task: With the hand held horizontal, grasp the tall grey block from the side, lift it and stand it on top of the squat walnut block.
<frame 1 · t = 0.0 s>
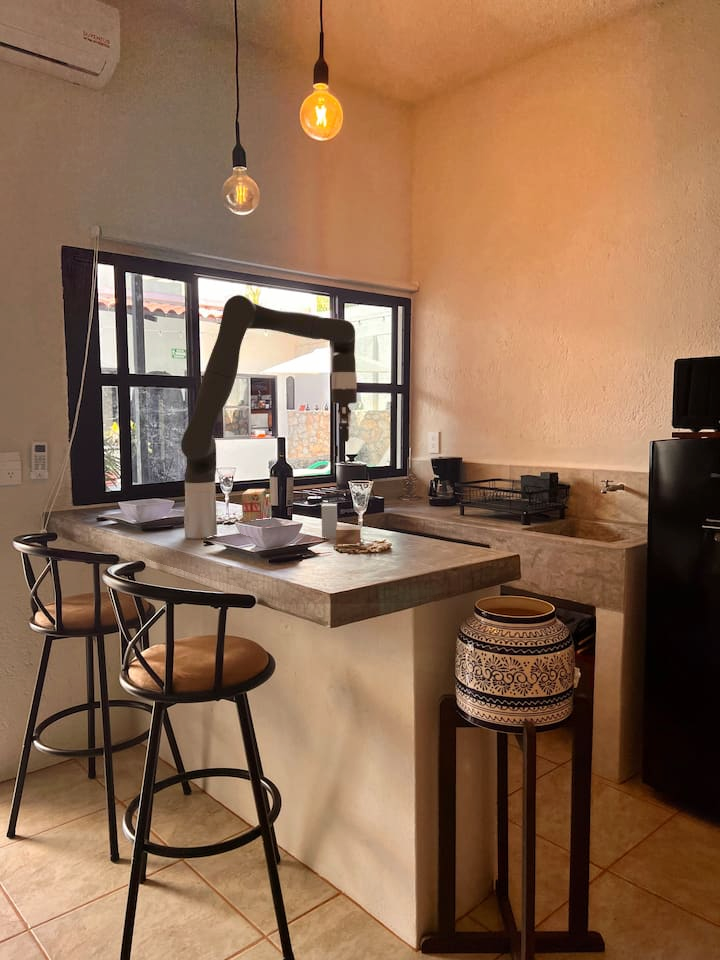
hand: (344, 440, 211), 29 cm above the table, tool pointing down, fingers open, 8 cm apart
tall grey block: (329, 537, 211), on the table
walnut base block: (348, 544, 200), on the table
tan printed box: (257, 525, 236), on the table
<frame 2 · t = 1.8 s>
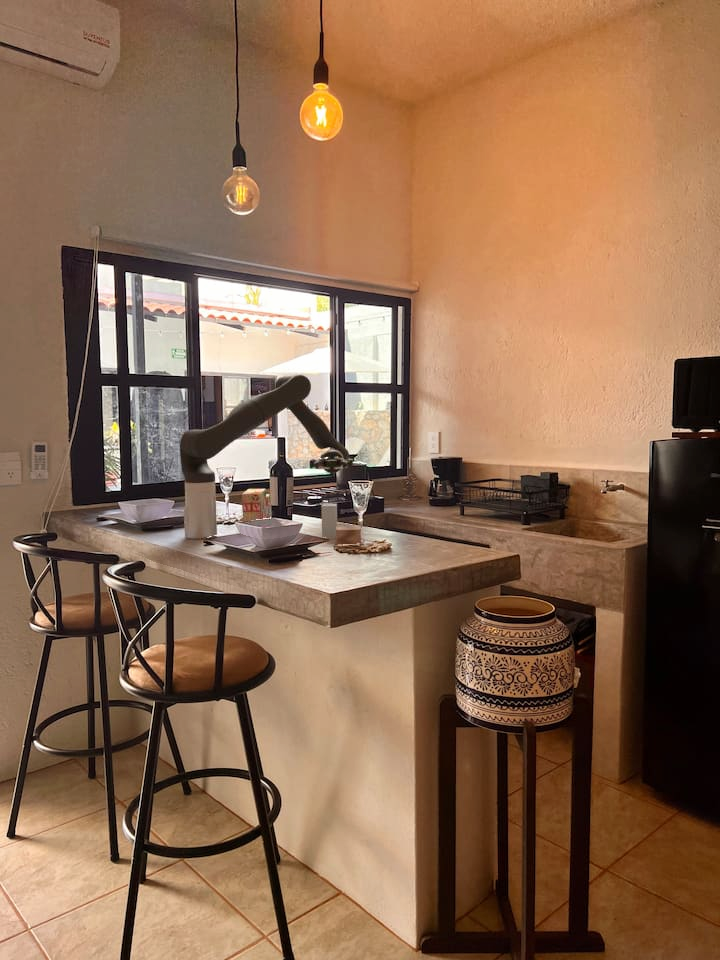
hand: (330, 465, 220), 21 cm above the table, tool horizontal, fingers open, 8 cm apart
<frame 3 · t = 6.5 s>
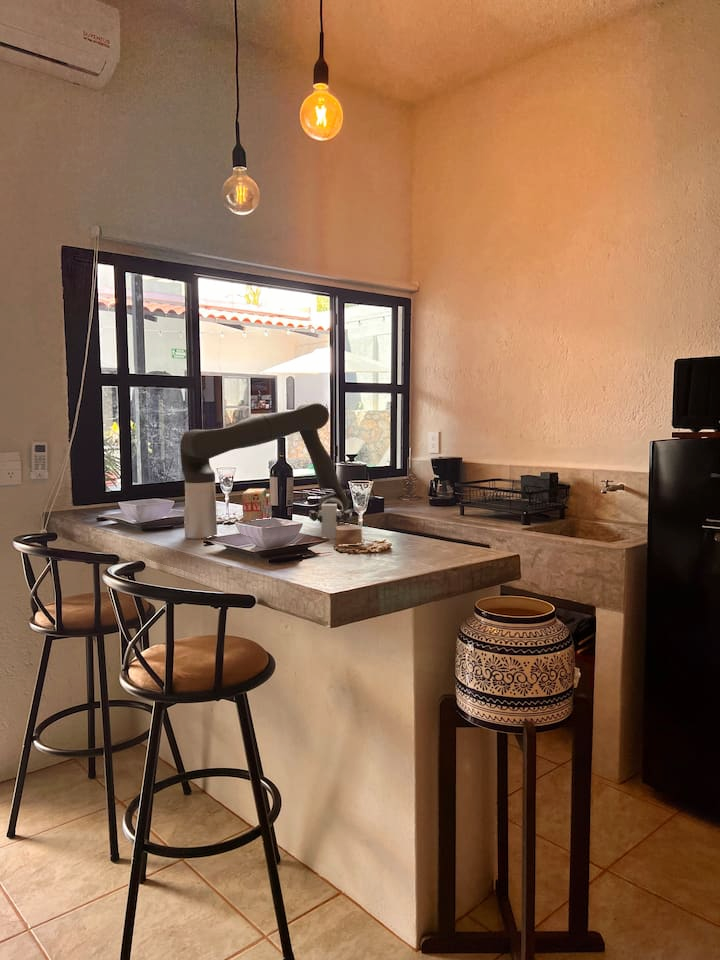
hand: (329, 518, 208), 6 cm above the table, tool horizontal, fingers closed on tall grey block, 4 cm apart
tall grey block: (329, 536, 211), on the table, touching gripper
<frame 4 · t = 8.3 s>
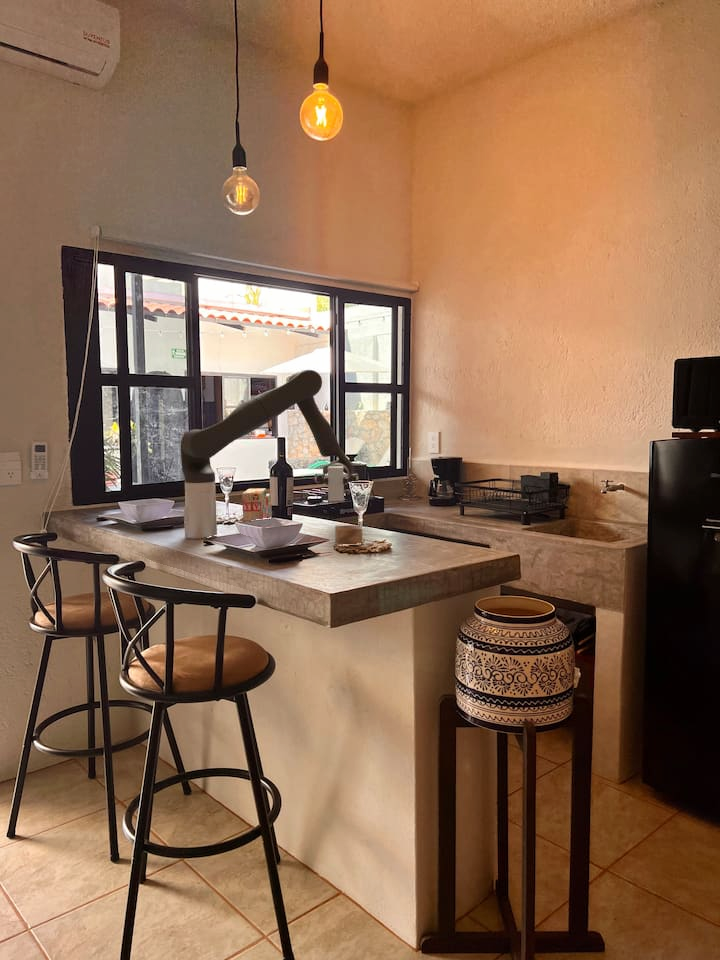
hand: (335, 481, 203), 18 cm above the table, tool horizontal, fingers closed on tall grey block, 4 cm apart
tall grey block: (336, 500, 206), point 12 cm above the table, touching gripper
when the fingers open (12 cm above the table, at t = 10.6 s): tall grey block stays where it is, resting on walnut base block.
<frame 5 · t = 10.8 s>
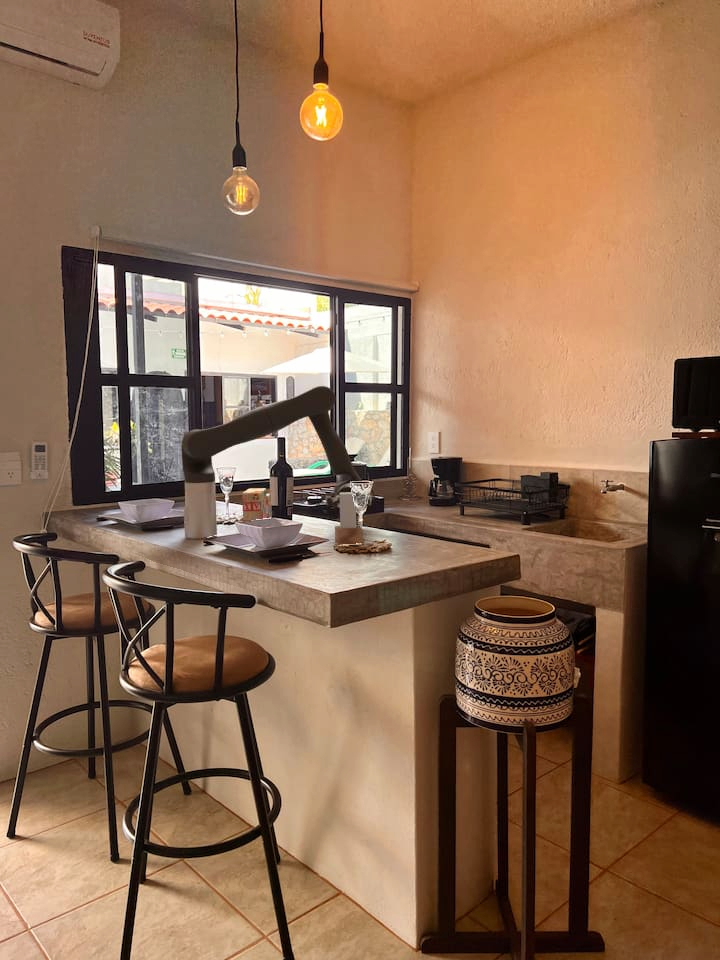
hand: (347, 504, 196), 12 cm above the table, tool horizontal, fingers open, 6 cm apart
tall grey block: (348, 527, 199), point 5 cm above the table, touching walnut base block
walnut base block: (348, 544, 200), on the table, touching tall grey block
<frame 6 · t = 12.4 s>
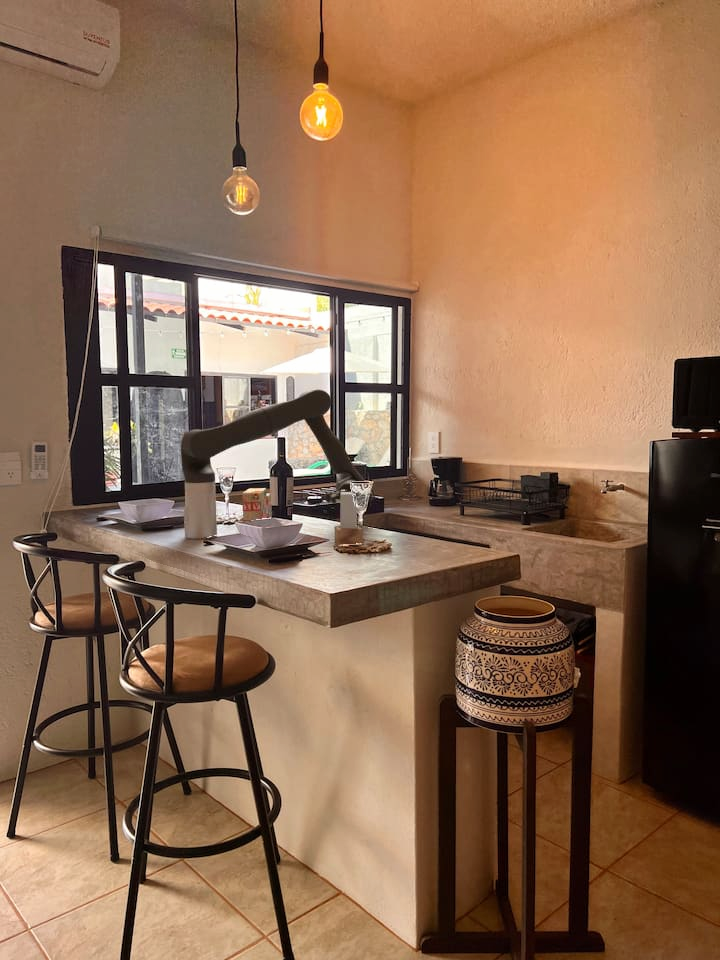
hand: (348, 499, 205), 12 cm above the table, tool horizontal, fingers open, 8 cm apart
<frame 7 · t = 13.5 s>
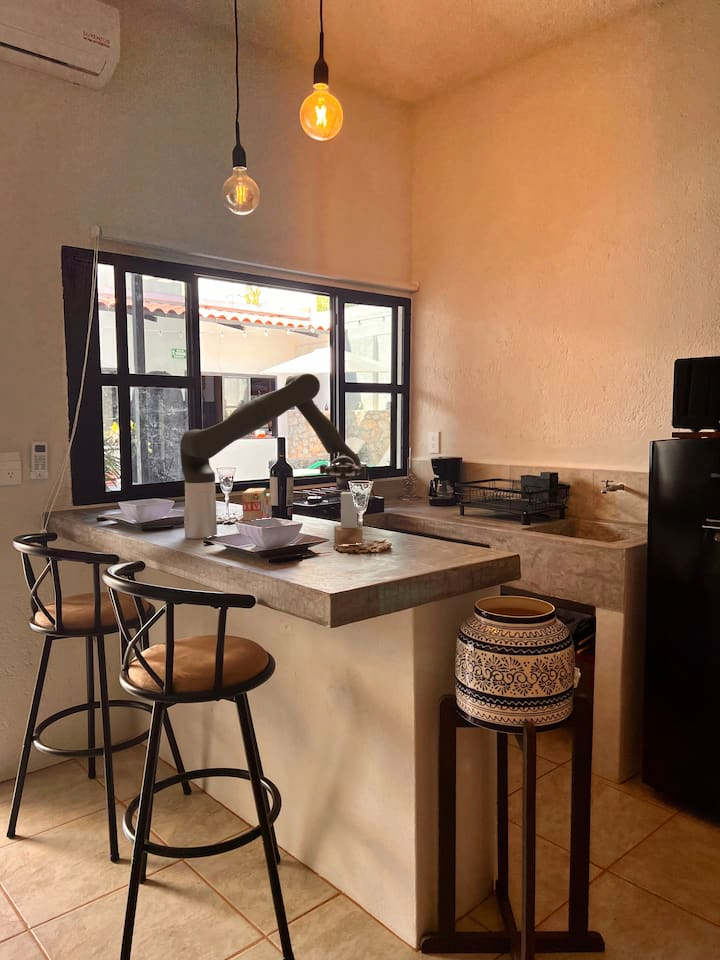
hand: (342, 471, 211), 20 cm above the table, tool horizontal, fingers open, 8 cm apart
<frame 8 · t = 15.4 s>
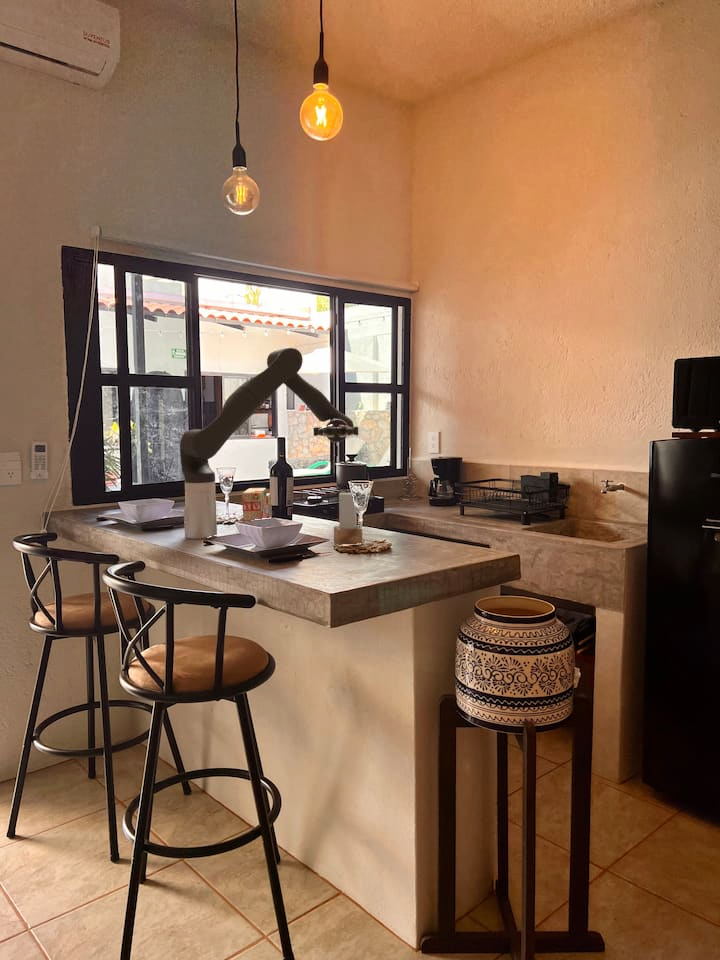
hand: (335, 431, 213), 32 cm above the table, tool horizontal, fingers open, 8 cm apart
at the end: tall grey block 0.2 cm off-centre on the walnut base block, point 5.1 cm above the walnut base block's base; tall grey block tilted 2°; the gripper is holding nothing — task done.
